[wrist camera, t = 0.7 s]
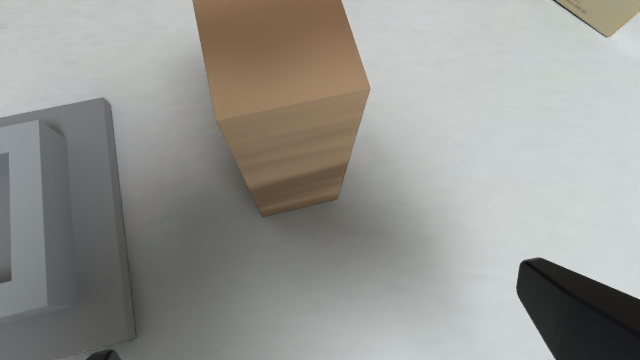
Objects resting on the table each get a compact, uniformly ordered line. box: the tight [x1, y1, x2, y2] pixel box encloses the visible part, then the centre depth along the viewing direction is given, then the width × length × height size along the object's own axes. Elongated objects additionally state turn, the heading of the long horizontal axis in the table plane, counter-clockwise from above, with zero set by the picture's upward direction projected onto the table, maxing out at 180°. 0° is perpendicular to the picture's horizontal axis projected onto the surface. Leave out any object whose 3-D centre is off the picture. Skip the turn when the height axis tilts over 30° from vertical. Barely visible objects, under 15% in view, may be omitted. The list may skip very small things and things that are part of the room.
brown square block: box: [192, 0, 370, 217], centre depth 18 cm, size 4×4×12 cm
